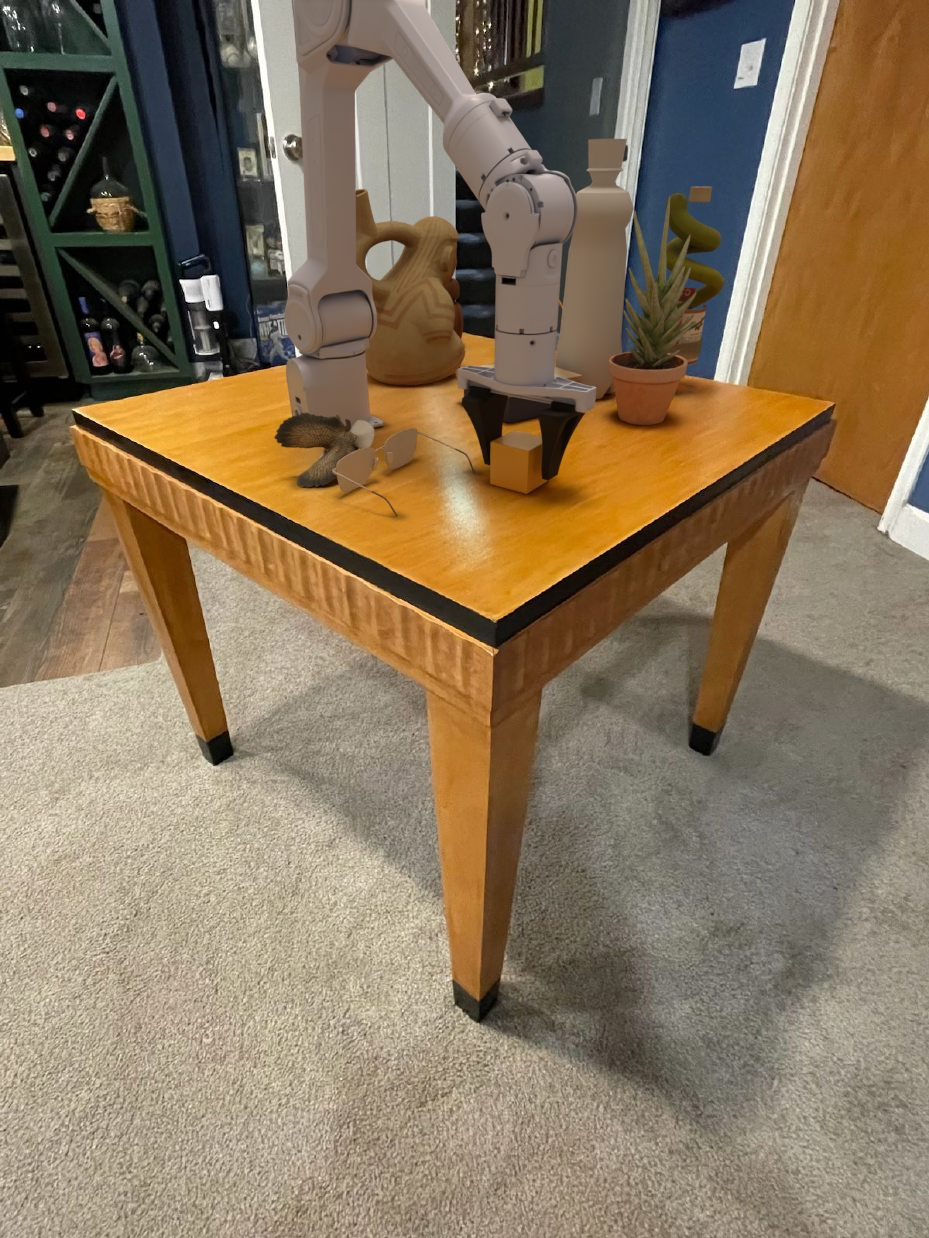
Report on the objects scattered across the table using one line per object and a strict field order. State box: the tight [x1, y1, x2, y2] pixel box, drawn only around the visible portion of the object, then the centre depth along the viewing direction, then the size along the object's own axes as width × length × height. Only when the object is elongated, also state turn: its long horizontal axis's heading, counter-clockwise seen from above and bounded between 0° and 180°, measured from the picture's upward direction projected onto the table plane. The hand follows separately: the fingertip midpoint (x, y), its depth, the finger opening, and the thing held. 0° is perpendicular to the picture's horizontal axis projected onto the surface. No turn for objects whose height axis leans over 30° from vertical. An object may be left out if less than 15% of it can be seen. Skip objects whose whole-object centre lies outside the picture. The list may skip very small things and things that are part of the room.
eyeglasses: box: [332, 427, 476, 517], centre depth 70 cm, size 14×8×4 cm, turn 145°
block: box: [489, 430, 549, 495], centre depth 70 cm, size 4×4×4 cm
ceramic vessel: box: [356, 188, 466, 386], centre depth 101 cm, size 17×20×25 cm
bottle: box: [555, 138, 635, 401], centre depth 91 cm, size 9×9×30 cm
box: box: [455, 362, 582, 424], centre depth 92 cm, size 12×12×4 cm
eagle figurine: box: [273, 413, 376, 488], centre depth 73 cm, size 8×7×9 cm
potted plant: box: [609, 195, 696, 426], centre depth 82 cm, size 10×10×25 cm
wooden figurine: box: [444, 277, 464, 339], centre depth 120 cm, size 7×6×15 cm
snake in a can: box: [665, 186, 725, 366], centre depth 94 cm, size 12×10×25 cm
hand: (520, 469), depth 71 cm, fingers open, 6 cm apart
